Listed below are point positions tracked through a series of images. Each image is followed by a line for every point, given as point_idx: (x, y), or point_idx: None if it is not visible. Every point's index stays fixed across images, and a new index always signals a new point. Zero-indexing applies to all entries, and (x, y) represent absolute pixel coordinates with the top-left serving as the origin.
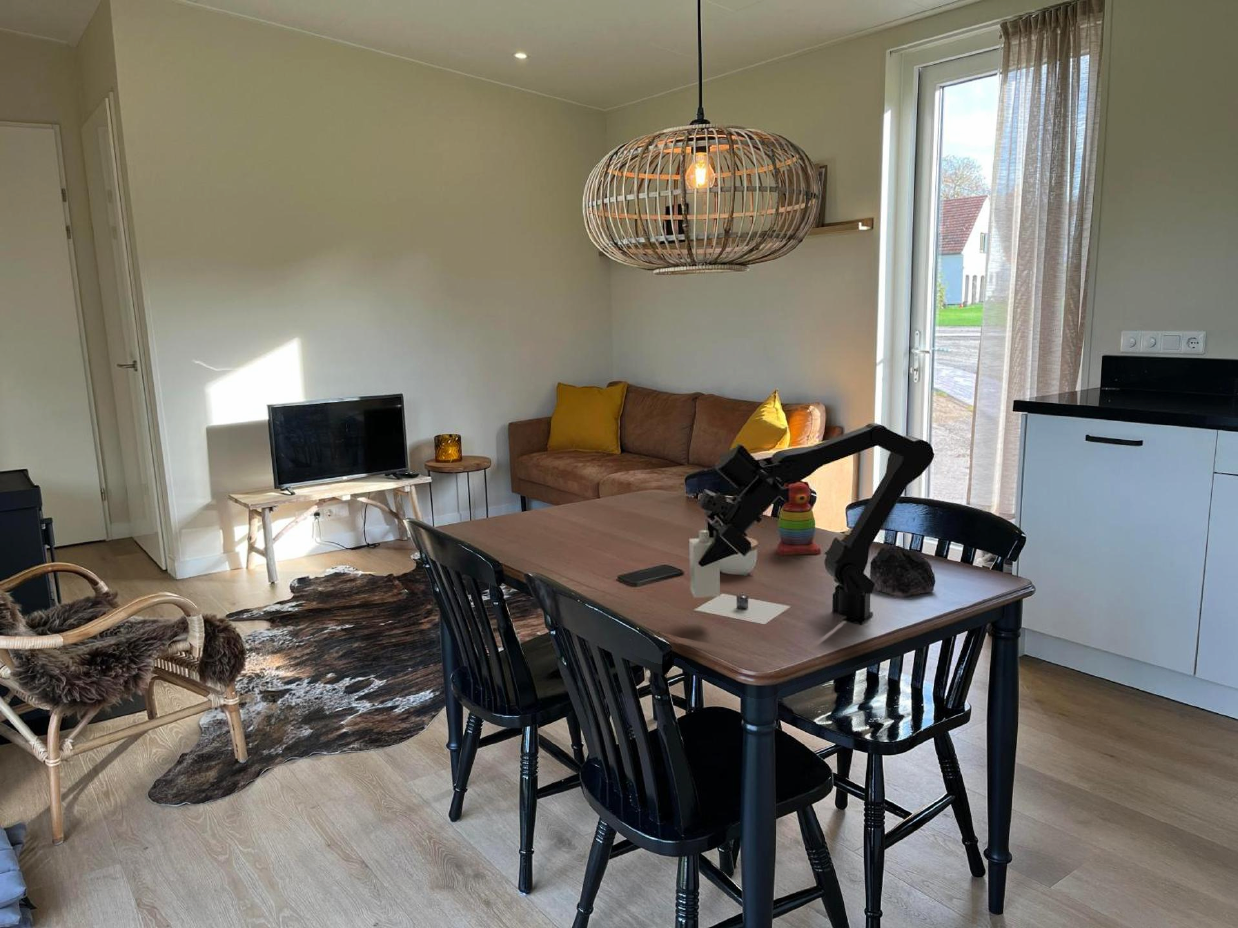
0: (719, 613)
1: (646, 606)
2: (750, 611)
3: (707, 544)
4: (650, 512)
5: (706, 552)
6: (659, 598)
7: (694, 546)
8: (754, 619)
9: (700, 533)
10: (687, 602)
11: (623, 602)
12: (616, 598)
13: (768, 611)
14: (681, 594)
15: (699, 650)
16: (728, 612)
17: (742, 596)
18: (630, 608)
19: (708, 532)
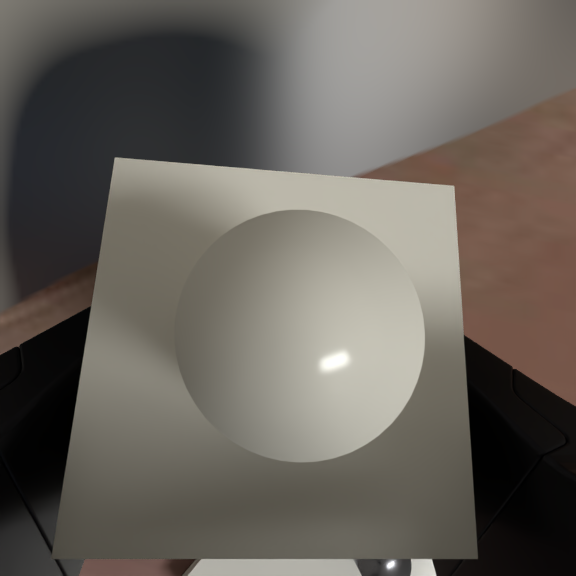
0: None
1: (464, 216)
2: (326, 565)
3: (99, 356)
4: None
5: (63, 329)
6: (535, 268)
7: (121, 178)
8: (235, 559)
9: (236, 238)
10: (490, 351)
11: (505, 158)
12: (542, 145)
13: None
14: (570, 347)
15: (52, 296)
16: None
17: (384, 565)
18: (452, 168)
19: (222, 429)
